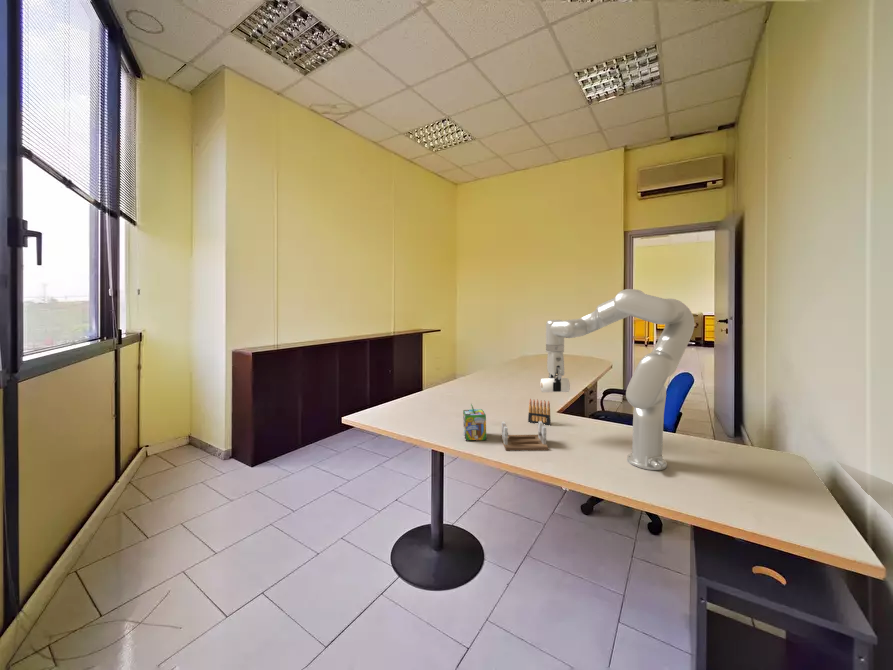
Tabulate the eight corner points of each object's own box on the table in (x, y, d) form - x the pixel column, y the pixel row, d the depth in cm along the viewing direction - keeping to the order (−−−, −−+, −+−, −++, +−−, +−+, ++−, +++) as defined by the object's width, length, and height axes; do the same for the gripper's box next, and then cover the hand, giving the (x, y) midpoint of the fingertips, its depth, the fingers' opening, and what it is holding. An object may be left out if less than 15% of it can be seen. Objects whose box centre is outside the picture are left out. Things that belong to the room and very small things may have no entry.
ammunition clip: (527, 422, 174) (528, 398, 173) (528, 421, 175) (529, 397, 174) (549, 425, 169) (550, 401, 168) (550, 424, 170) (551, 400, 169)
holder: (548, 450, 140) (548, 430, 139) (505, 450, 140) (505, 430, 140) (539, 437, 154) (539, 419, 153) (500, 437, 154) (500, 419, 154)
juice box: (486, 440, 151) (486, 407, 150) (465, 441, 151) (465, 408, 149) (483, 433, 160) (482, 401, 159) (463, 433, 160) (462, 402, 159)
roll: (570, 393, 149) (570, 379, 149) (543, 393, 149) (543, 379, 149) (565, 390, 155) (565, 376, 155) (539, 390, 155) (539, 377, 155)
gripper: (570, 350, 142) (570, 394, 144) (557, 346, 159) (557, 385, 161) (552, 351, 142) (551, 394, 144) (541, 346, 159) (540, 385, 161)
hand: (554, 389), depth 152 cm, fingers closed on roll, 6 cm apart
